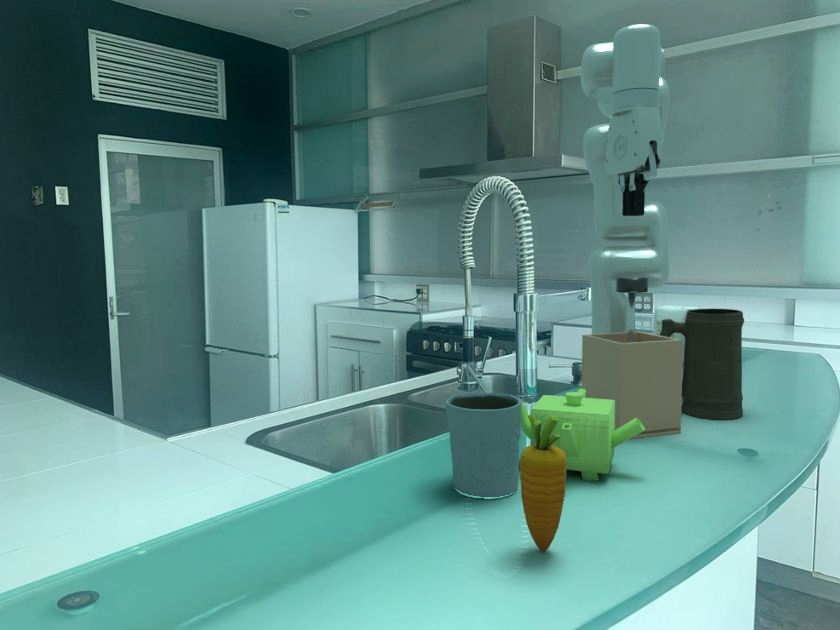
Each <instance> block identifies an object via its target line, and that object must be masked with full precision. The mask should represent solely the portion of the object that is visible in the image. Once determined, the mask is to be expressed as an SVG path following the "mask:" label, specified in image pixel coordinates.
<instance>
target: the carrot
mask: <svg viewBox="0 0 840 630" xmlns="http://www.w3.org/2000/svg"><path fill="white" fill-rule="evenodd" d="M528 415H529V416H528V418H529V421H530V423H531V426H532V429H533V433H534V438H535V442H536V445H531V444H530V445H528V446H526V447H525V448H523V451H522V453H521V455H520V458H519V473H520V476H519V479H520V493H521V494H520V495H521V501H522V507H523V512H524V513H523V514H524V517H525V518H524V519H525V522H526V525H527V528H528V531H529V534H530V536H531V538H532V540H533V542H534V543H535V545H536V548H537V549H538V550H539V551H540V552H542V551H544V552H546V551H547V550H548V549H549V548H550V546H551V544H552V543H553V541H554V539H555V536H556V534H557V533H558V532H557V531H558V529H559V525H560V521H561V517H562V513H563V508H564V501H565V497H566V484H567V482H566V481H567V470H566V463H567V459H566V454H565V452H564V451H563V450H562V449H560V448H558V447H555V446H553V445H552V444H553V443H554V442H555V441H556V440H558V439H559V438H560V435H558V434H555V435H553V436H552V437H551V438H550V439H549V437H550V434H551V433H552V431H553V429H554V428H555V426H556V424H557V422H558V418H557V417H556V416H554V415H550V417H549V419H548V421H547V423H546V425H545V427H544V429H543V432H542V436H541V438H540V429H541V421H540V420H537V421H536V419H535V416H534V415H533V414H531V413H530V414H528Z"/></svg>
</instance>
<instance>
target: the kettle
mask: <svg viewBox="0 0 840 630" xmlns="http://www.w3.org/2000/svg"><path fill="white" fill-rule="evenodd" d="M585 395H586V390H585V389H582V388H579V389H577V391H568V392H565V393H564V395H549V394H547V395H546V394H543V395H542V396H541V397H540V398H539V399H538V401H537V402H536V403H535V404H534V405H533V407H532V408H530V414H533V415H534V416H535V419H536V421H537V420H540V421H541V429H540V438H541V436H542V432H543V429H544V427H545V425H546V423H547V421H548V419H549V417H550V415H554V416H556V417H557V418H558V422H557V424H556V426H555V428H554V429H553V431H552V433H551V434H550V437H549V439H550V438H551V437H552V436H553V435H555V434H558V435H560V438H559V439H558V440H556V441H555V442H554V443H553V444H552V445H553V446H555V447H558V448H560V449H562V450H563V451H564V452H565V454H566V459H567V463H566V471H573V472H574V471H575V472H576V471H577V472H580V473H581V478H582V479H583V480H585V481H598V480H599V476H598V474H602V475H609V473H610V469H611V466H612V463H613V458H614V457H615V456H614V455H615V447H617V446H620V445H621V444H623V443H625V442H626V441H628V440H630V438H631V439H633V438H632V437H634V436H636V435H637V434H639V433H641V432H643V431H645V428H644V426H643V425H642V423H641V422H640V421H639V419H638V418H635V419H633V420H631V421H630V422H628V423H626V424H625V425H623V426H622V427H620V428H618V429H617V430H615V400H609V399H595V398H586V396H585ZM530 414H529V412H528V410H527V407H526V405H525V403H524V402H523V401H522V406H521V427H520V428H521V430H522V431H523V434H525V436H526V437H527V438H528V439H529V440H530V445H536V442H535V438H534V433H533V429H532V426H531V423H530V421H529V418H528V416H529V415H530Z"/></svg>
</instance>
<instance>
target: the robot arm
mask: <svg viewBox="0 0 840 630" xmlns="http://www.w3.org/2000/svg"><path fill="white" fill-rule="evenodd" d="M665 64H666V52H665V49H664V48H662V44H661V33H660V30H659V29H658V27H656V26H655V25H653V24H645V23H638V24H632V25H628V26H625V27H622V28H621V29H619V30H617V32H616V33H615V34H614V36H613V40H612V41H611V42H610V41H609V42H601V43H594V44H591V45H589V46H588V47H586V50H585V51H584V53H583V56H582V59H581V64H580V85H581V90H582V91H583V93H584V95H585V96H586V97H587V98H589V99H591V100H595V101H597V106H598V109H599V110H600V112H601V114H602V115H603V116H605V117H607V118H609V119H610V121H609V123H603V124H597V125H594V126H591V127H589V128H588V129H587V130H586V131H585V133H584V135H583V138H582V140H583V141H582V149H583V157H584V162H585V165H586V168H587V172H588V174H589V176H590V179H591V182H592V185H593V186H592V187H593V191H594V192H593V193H594V194H593V195H594V196H593V202H594V204H593V205H594V206H593V210H594V231H595V236H596V238H597V240H599V241H601V242H604V243H617V244H619V243H622V244H623V243H628V244H629V243H642V244H644V245H613V246H612V245H610V246H603V247H599V248H596V249H594V250H593V251H592V252H591V253H590V256H589V257H588V261H587V262H588V266H587V267H588V274H589V281H590V289H591V290H590V291H591V292H590V293H591V334H605V333H621V332H627V328H628V295H626V294H625V293H623V292H616V278H618V277H647V278H648V289H651V288H660V287H662V286H664V285H665V284H666V283H667V281H668V279H669V276H670V275H669V274H670V255H669V254H670V253H669V233H668V231H669V228H668V227H669V226H668V216H667V215H668V214H667V212H666V209H665V207H664V205H663V204H662V203H661V202H659V201H656V200H645V199H646V198H645V197H646V191H647V190H648V185H649V184H648V183H649V182H650V180H652V179H654V178H656V176H657V175H658V169H659V168H660V167H661V165H662V160H663V146H664V143H665V142H664V140H665V133H666V127H667V119H668V115H669V105H670V87H669V85H668V82H667V80H666V79H665V78H663V77H662V74H663V73H664V72H665V70H666V68H665V67H666V65H665Z"/></svg>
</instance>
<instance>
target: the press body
mask: <svg viewBox="0 0 840 630" xmlns="http://www.w3.org/2000/svg"><path fill="white" fill-rule="evenodd" d="M581 336H582V337H581V342H582V343H581V347H582V349H581V364H582V365H581V389H585V390H586V395H585V396H586V398H595V399H609V400H615V430H617V429H618V428H620V427H622V426H623V425H625V424H626V423H628V422H630V421H631V420H633V419H635V418H638V419H639V421H640V422H641V423H642V425H643V426H644V428H645V431H643V432H641V433H639V434H637V435H636V436H634V437H632V438H630V439H638V438H647V437H656V436H657V437H658V436H664V435H673V434H681V431H682V430H681V429H682V409H681V408H682V402H683V400H682V366H683V340H680V339H675V338H670V337H665V336H660V335H655V334H653V333H649V332H645V331H639V330H638V331H635V341H634V342H631V343H627V332H621V333H605V334H592V333H590V334H582V335H581ZM630 439H629V440H630Z"/></svg>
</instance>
